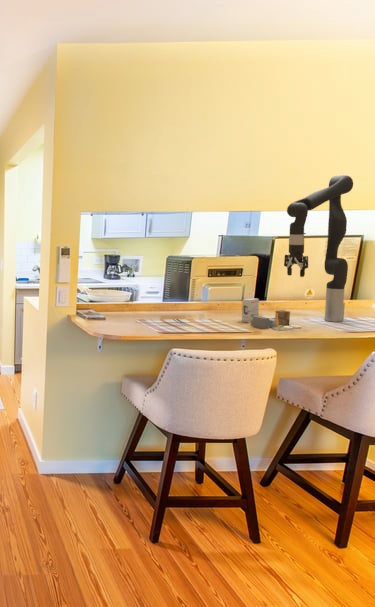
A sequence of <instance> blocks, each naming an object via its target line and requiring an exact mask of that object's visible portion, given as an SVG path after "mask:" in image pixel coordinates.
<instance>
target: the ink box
mask: <svg viewBox="0 0 375 607" xmlns="http://www.w3.org/2000/svg"><path fill="white" fill-rule="evenodd" d="M259 301H260V299H259V298H252V297H251V298H245V299H242V304H241V306H242V307H241V309H242V310H241V322H242V323H249V324H251V320H253V316H260V315H259V314H260V313H259V310H260V309H259V308H260V307H259V306H260V305H259V303H260V302H259Z"/></svg>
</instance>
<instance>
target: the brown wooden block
mask: <svg viewBox="0 0 375 607" xmlns="http://www.w3.org/2000/svg"><path fill="white" fill-rule="evenodd" d="M276 313H278V320H279V324H278V325H282V326H288V325H289V326H290V318H291V311H289V310H285V309H284V310H282V309H281V310H275V317H274V318H276Z"/></svg>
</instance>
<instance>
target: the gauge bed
mask: <svg viewBox="0 0 375 607" xmlns="http://www.w3.org/2000/svg"><path fill="white" fill-rule="evenodd" d="M269 318H270V317H265V316H261V315H259V316H253V320H251V323H250V326H252V327H253V328H258V329H262V330H266V329H267V330H268V329H270V326H269ZM271 318H272V319H275V317H271ZM271 328H272V330H274V331H278V332H280V331H287V330H295V329H296V330H297V329H303V326H301V325H297V324H291V325H290V324H289V325H288V326H284V327H279V326H278V327H271Z"/></svg>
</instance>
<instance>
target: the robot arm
mask: <svg viewBox="0 0 375 607" xmlns="http://www.w3.org/2000/svg"><path fill="white" fill-rule="evenodd" d="M328 182H329V183H328V186H327V187H325V188H323V189H319V190H317V191H313V192H312V193H311V194H309V195H307V196H305V197H303V198H301V199H298V200H296V201H292V202H291V203H290V204H289V205H288V206H287V208H286V212H287V215H288V216H289V217H291V218H295V219H294V222H291V223H290V224H289V237H288V253H289V254H284V259H283V260H284V261H283V262H284V263H283V266H284V267H286V269H287V270H286V272H287V273H286V275H287V276H292V275H293V273H292V272H293V268H292V267H293V265H297V267H299V269H300V270H299V276H300V278H304V277H305V274H306V269H308V268H309V255H304V253H305V235H304V234H305V225H306V221H307V217H308V212H309V211H312V210H314V209H317V208H318V207H319V206H321V205H323V204H325V203H326V202H328V204H329V206H328V222H327V223H328V226H327V228H328V229H327V244H326V251H325V258H324V271H325V273H326V274H327V275H330V276H331V275H332V276H333V277H332V280H330V281H328V282H327V283H326V286H325V287H326V288H325V290H326V291H325V307H324V309H325V310H324V320H325V321H327V322H333V323H334V322H335V323H341V322H343V321H344V320H345V319H344V318H345V287H346V283H347V281H348V280H347V279H348V271H349V265H348V261H347V260H346V259H345V258H342V257H338V253H339V252H338V251H339V247H340V245H341V243H342V241H343V240H344V238H345V236H346V233H347V226H348V224H347V223H348V221H347V216H346V214H345V212H344V209H343V206H342V203H341V202H342V200H341V199H342V195H344V194H347V193H349V192H351V191H352V189H353V187H354V180H353V178H352V176H349V175H347V174H346V175H343V174H342V175H334V176H332V177H331V178H330V179H329V181H328Z"/></svg>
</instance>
